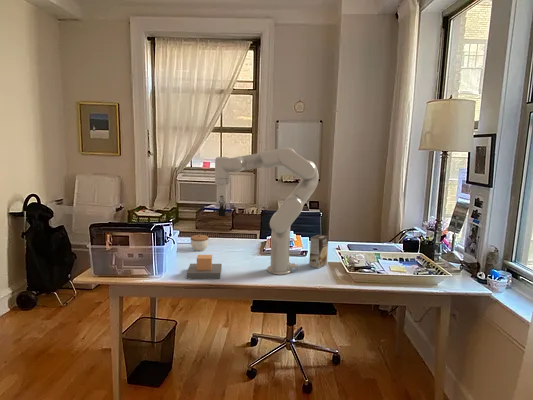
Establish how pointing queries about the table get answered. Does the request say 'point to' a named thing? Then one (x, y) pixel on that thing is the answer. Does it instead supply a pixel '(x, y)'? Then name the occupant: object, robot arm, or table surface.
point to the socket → (204, 272)
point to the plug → (204, 262)
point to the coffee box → (318, 251)
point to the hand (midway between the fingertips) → (222, 214)
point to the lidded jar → (199, 242)
